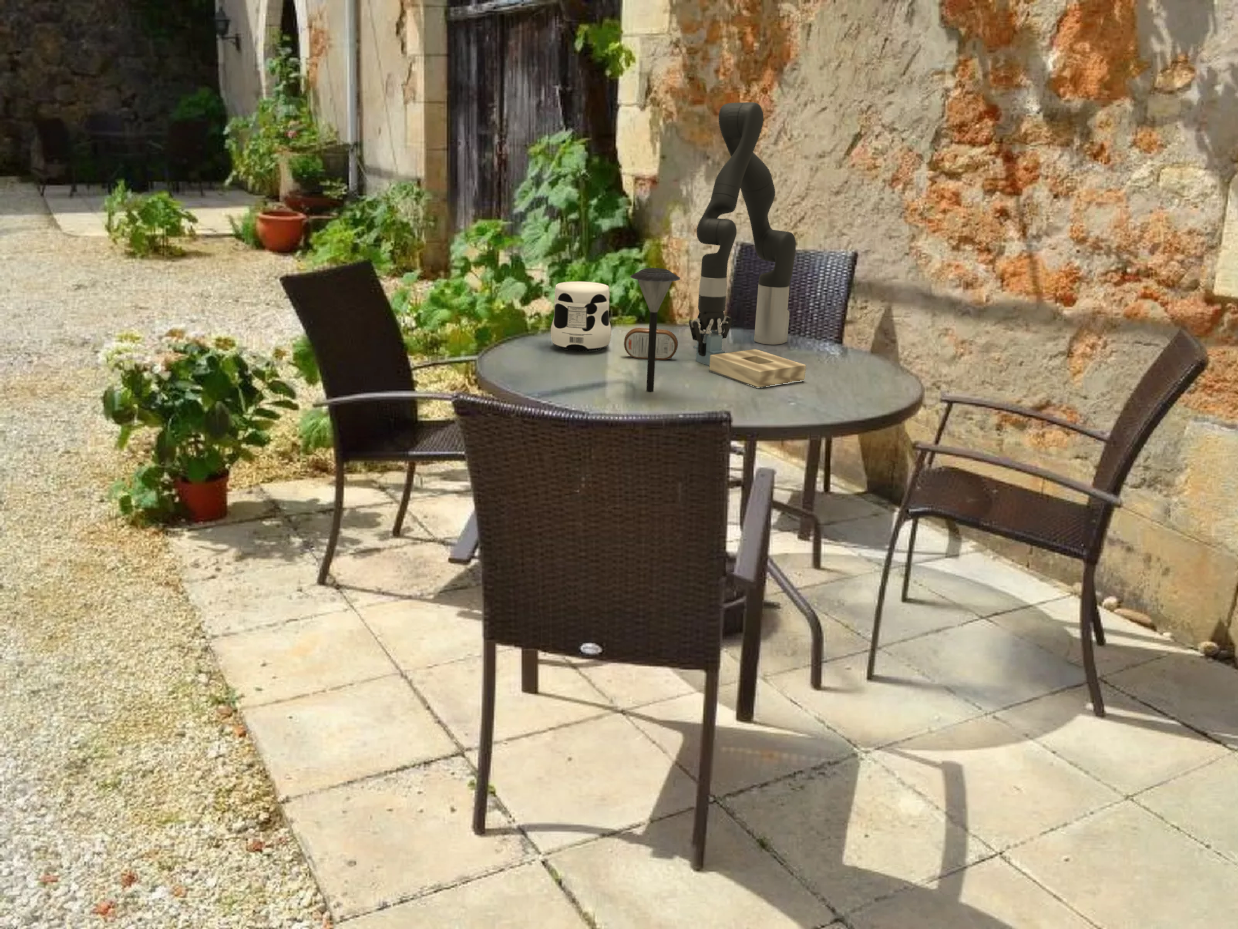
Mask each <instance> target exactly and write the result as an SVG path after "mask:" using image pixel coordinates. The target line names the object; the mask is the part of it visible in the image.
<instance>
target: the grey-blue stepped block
mask: <svg viewBox="0 0 1238 929" xmlns="http://www.w3.org/2000/svg"><path fill="white" fill-rule="evenodd" d="M702 338H703V337H702ZM722 338H723V336H721V335H717V334H715V333H712V332H711V331H710V334H709V335H708V336H707V340H706V355H705V356H700V355H699V353H698V341H696V345H693V346H692V348H693V349H695V350H696V354H695V362H697V363H700V364H703V365H706V366H709V367H710V355H715V354H722V353H726V351H725V350H722V349H723V348H722V347H723V339H722Z"/></svg>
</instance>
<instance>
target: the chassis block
mask: <svg viewBox="0 0 1238 929" xmlns="http://www.w3.org/2000/svg"><path fill="white" fill-rule="evenodd" d="M806 369H807V365H806V364H803V363H801V362H796V361H794V360H791V359H788V358H785V357H782V356H779V355H775V354H772V353H769V352H766V351H762V350H759V349H755V348H753V349H748V350H737V351H732V352H725V353H722V354H715V355H710V366H709V370H708V371H709V373H713V374H715V375H718V376H721V377H723V378H726V379H730V380H732V381H736V382H737V381H738V382H737V383H740V384H744V385H746V384H749V385H752V386H754V387H766V386H770V385H775V384H783V383H788V382H792V381H800V380H804V379H805V378H806V372H807V371H806ZM805 380H806V379H805ZM754 387H753V388H754Z"/></svg>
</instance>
